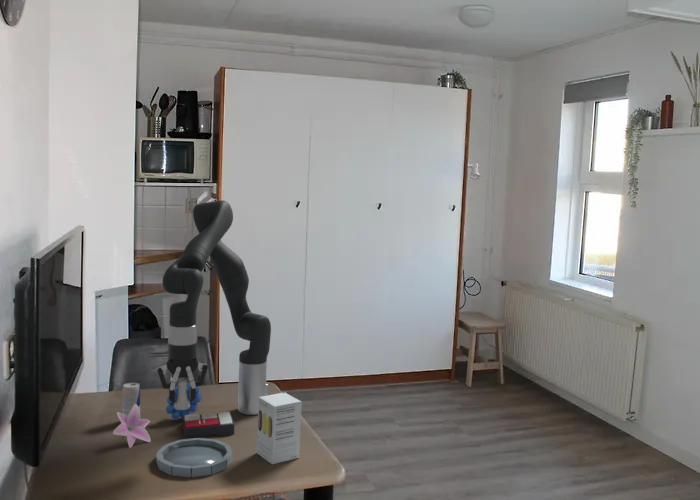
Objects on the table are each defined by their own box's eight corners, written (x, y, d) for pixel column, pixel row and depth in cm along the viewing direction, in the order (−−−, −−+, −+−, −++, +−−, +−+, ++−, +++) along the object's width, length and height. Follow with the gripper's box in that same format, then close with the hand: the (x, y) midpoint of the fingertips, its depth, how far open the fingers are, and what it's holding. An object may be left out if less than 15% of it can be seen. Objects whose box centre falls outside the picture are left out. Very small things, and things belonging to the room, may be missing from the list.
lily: (105, 453, 190) (118, 428, 187) (103, 424, 199) (115, 400, 197) (145, 458, 196) (159, 434, 193) (142, 430, 206) (154, 407, 203)
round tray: (223, 443, 198) (223, 435, 198) (238, 471, 180) (239, 462, 180) (153, 451, 190) (153, 442, 190) (162, 481, 172) (162, 472, 172)
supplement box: (255, 453, 192) (257, 396, 191) (282, 446, 198) (284, 391, 196) (272, 465, 185) (274, 406, 183) (300, 458, 190) (302, 400, 189)
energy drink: (142, 419, 214) (143, 383, 213) (135, 425, 209) (136, 388, 208) (126, 418, 215) (127, 381, 213) (119, 424, 209) (119, 386, 208)
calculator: (182, 414, 211) (230, 409, 215) (183, 427, 212) (230, 422, 216) (183, 427, 201) (234, 421, 205) (184, 440, 201) (234, 435, 205)
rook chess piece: (175, 404, 186) (175, 376, 185) (191, 405, 186) (192, 377, 185) (172, 410, 182) (172, 381, 181) (188, 410, 182) (189, 382, 181)
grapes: (197, 412, 223) (198, 377, 222) (203, 418, 217) (204, 383, 216) (162, 417, 217) (162, 381, 216) (167, 424, 211) (168, 387, 210)
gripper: (206, 336, 188) (205, 394, 190) (154, 338, 183) (153, 399, 185) (211, 342, 181) (210, 403, 183) (156, 345, 176) (156, 408, 178)
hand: (182, 401), depth 184 cm, fingers closed on rook chess piece, 4 cm apart
